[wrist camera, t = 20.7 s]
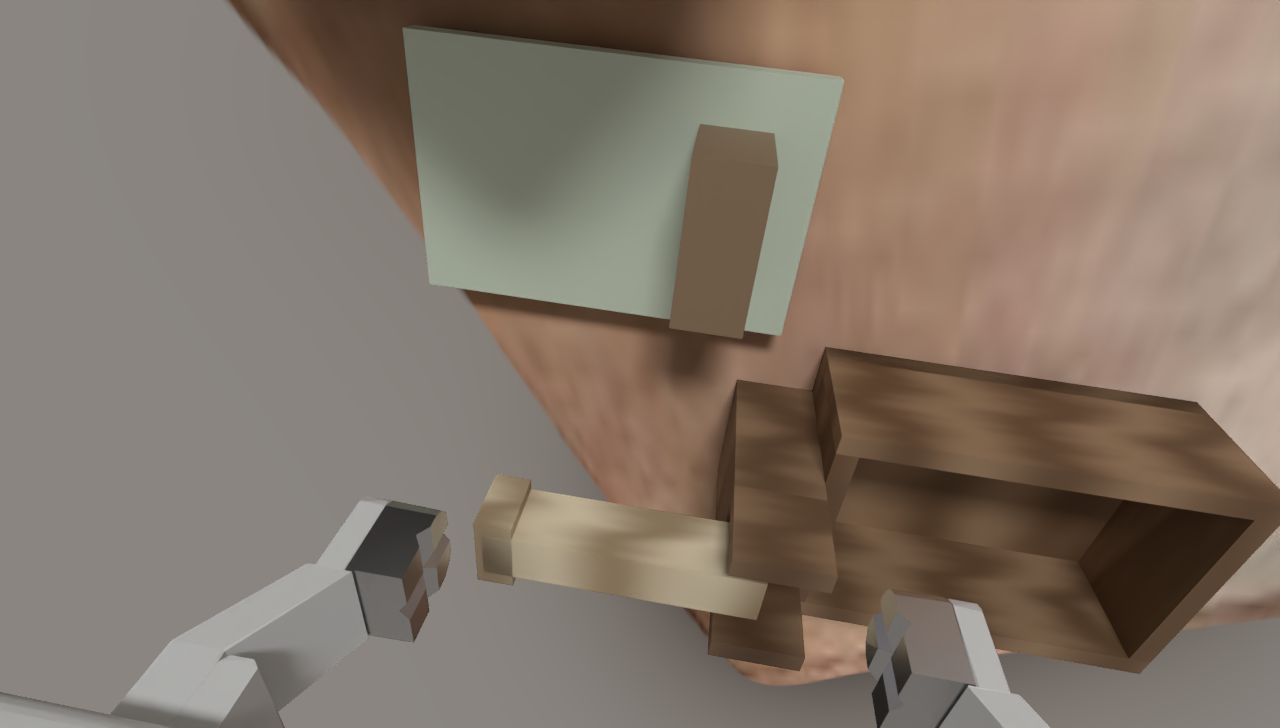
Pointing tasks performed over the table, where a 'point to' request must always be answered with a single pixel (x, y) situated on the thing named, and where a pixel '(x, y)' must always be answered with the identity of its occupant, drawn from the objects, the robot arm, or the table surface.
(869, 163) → the table surface
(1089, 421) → the chest
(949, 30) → the table surface
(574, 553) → the bar
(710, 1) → the table surface
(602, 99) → the lid
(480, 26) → the table surface
